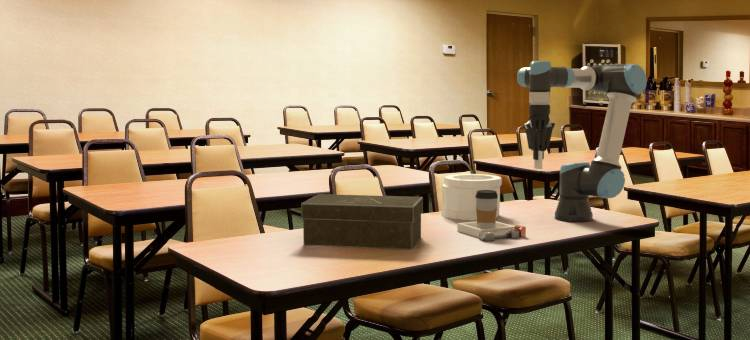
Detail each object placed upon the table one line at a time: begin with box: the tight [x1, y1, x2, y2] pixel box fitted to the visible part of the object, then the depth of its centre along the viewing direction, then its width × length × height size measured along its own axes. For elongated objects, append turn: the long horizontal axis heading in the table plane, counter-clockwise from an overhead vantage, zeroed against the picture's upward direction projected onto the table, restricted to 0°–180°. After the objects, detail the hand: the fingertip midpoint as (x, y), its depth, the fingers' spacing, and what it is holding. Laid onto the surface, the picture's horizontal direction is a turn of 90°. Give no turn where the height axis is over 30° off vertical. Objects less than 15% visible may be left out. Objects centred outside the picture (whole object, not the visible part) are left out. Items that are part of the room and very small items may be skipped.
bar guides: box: [478, 229, 520, 242], centre depth 284 cm, size 14×5×2 cm, turn 117°
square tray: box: [456, 220, 516, 239], centre depth 295 cm, size 15×15×3 cm
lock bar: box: [479, 225, 527, 241], centre depth 285 cm, size 18×4×4 cm, turn 117°
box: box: [300, 193, 424, 250], centre depth 280 cm, size 22×39×15 cm, turn 78°
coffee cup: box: [475, 190, 498, 229], centre depth 294 cm, size 8×8×15 cm
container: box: [440, 173, 503, 221], centre depth 333 cm, size 25×24×16 cm
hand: (538, 168), depth 289 cm, fingers closed
